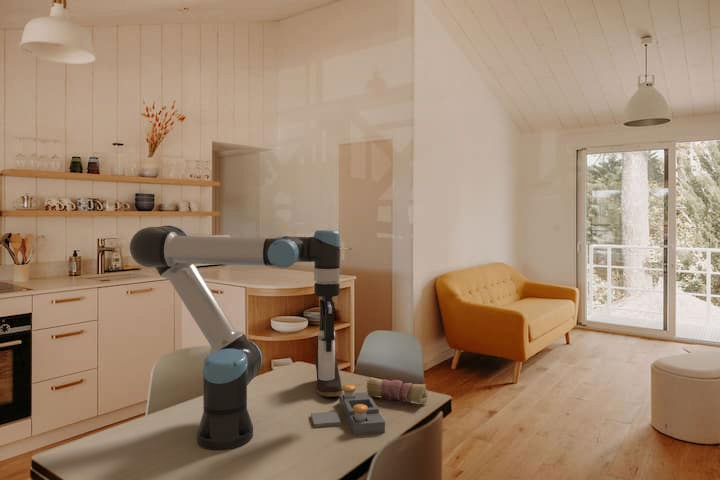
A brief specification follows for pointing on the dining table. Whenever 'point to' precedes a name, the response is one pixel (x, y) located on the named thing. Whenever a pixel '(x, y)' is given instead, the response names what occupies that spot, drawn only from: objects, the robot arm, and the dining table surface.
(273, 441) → the dining table surface
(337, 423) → the mat
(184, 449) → the dining table surface
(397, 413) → the dining table surface
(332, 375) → the cylinder
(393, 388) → the green and pink roll
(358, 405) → the plunger near
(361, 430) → the housing
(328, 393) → the boot
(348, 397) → the plunger far
